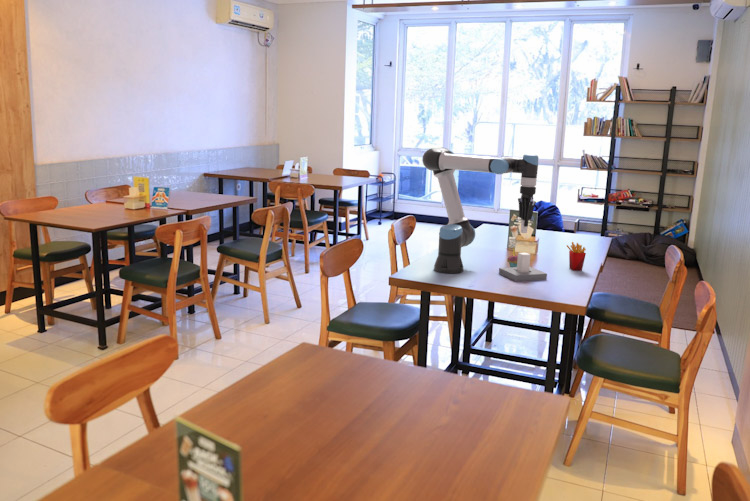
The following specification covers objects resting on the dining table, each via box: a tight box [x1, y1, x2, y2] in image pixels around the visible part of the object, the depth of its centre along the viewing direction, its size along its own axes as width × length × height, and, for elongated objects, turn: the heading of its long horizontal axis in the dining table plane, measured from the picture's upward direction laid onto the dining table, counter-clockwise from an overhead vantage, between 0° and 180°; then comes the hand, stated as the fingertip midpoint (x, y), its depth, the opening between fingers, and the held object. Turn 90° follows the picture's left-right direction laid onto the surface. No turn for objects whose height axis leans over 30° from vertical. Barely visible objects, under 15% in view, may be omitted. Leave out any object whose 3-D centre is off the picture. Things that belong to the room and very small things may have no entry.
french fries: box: [566, 241, 587, 272], centre depth 343 cm, size 9×8×15 cm
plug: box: [517, 252, 531, 273], centre depth 325 cm, size 4×4×12 cm
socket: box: [498, 266, 548, 282], centre depth 326 cm, size 18×16×3 cm
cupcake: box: [507, 246, 518, 267], centre depth 342 cm, size 9×8×12 cm
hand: (523, 232), depth 323 cm, fingers closed
